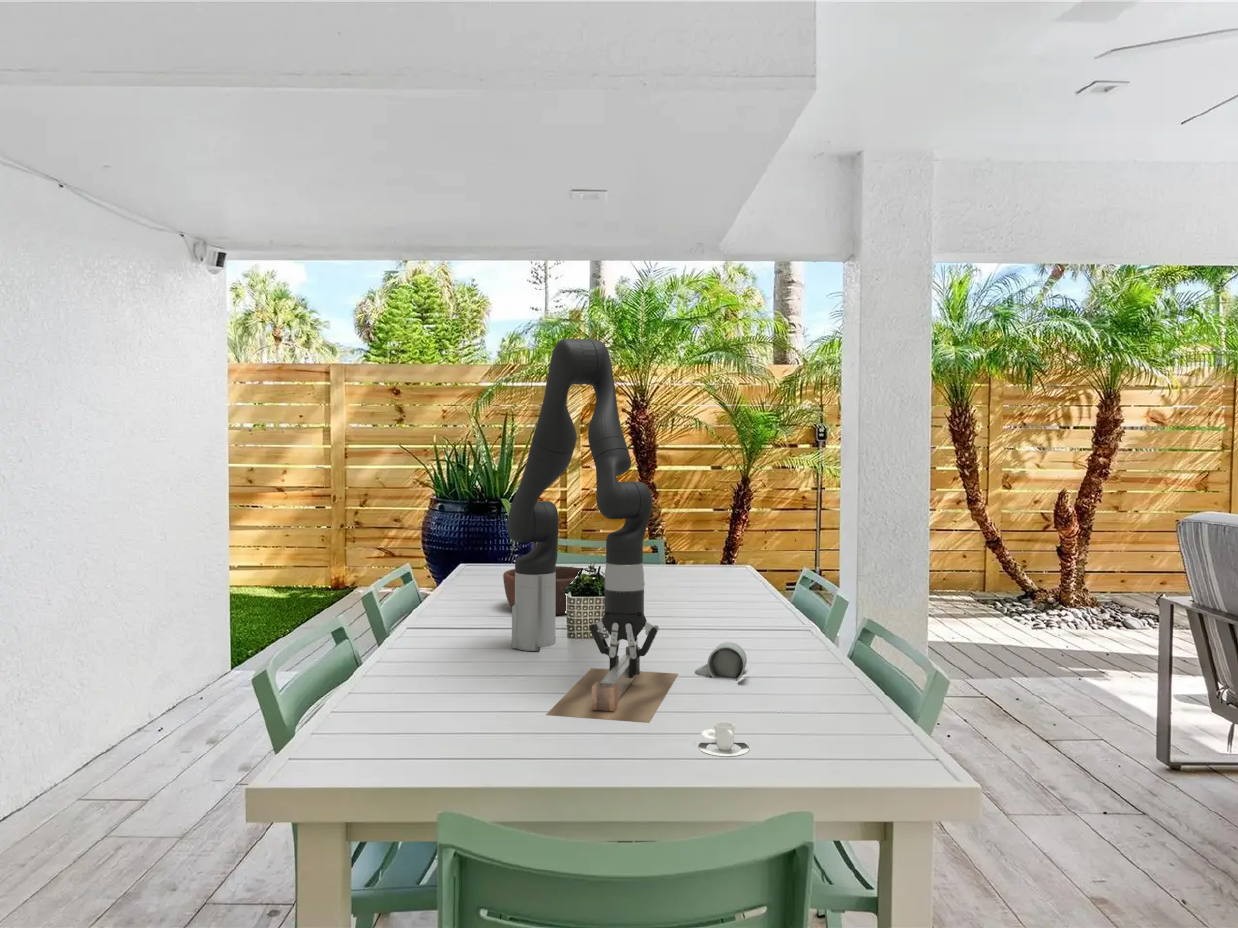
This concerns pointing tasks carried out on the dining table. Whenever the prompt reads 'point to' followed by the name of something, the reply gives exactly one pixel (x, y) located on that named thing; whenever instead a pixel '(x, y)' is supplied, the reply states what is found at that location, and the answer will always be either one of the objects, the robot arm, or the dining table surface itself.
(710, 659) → the ceramic mug
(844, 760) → the dining table surface
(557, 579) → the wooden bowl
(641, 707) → the walnut board
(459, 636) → the dining table surface
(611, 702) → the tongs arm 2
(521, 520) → the robot arm
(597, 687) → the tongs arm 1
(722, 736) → the teacup and saucer
